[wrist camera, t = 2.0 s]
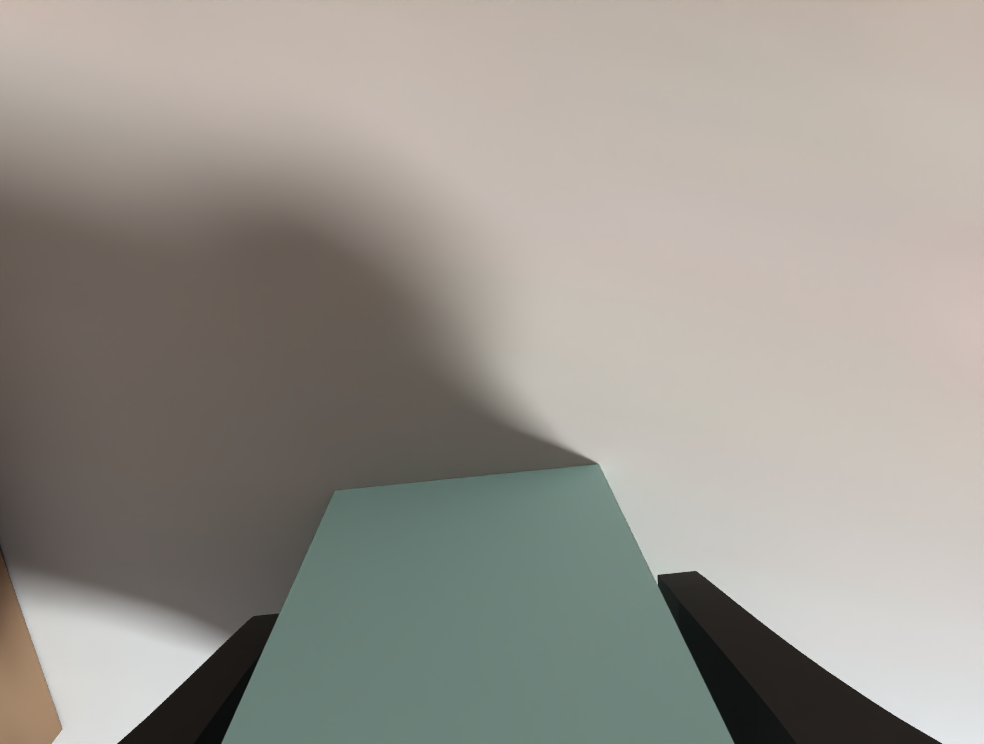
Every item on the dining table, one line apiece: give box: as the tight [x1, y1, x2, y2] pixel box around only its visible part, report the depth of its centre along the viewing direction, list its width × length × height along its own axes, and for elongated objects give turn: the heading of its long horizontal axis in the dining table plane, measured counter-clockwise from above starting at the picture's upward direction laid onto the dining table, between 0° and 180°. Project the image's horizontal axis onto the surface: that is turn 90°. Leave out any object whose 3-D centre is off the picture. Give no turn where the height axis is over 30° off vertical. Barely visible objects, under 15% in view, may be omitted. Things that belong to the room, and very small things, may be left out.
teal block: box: [221, 464, 734, 744], centre depth 8 cm, size 4×4×6 cm
